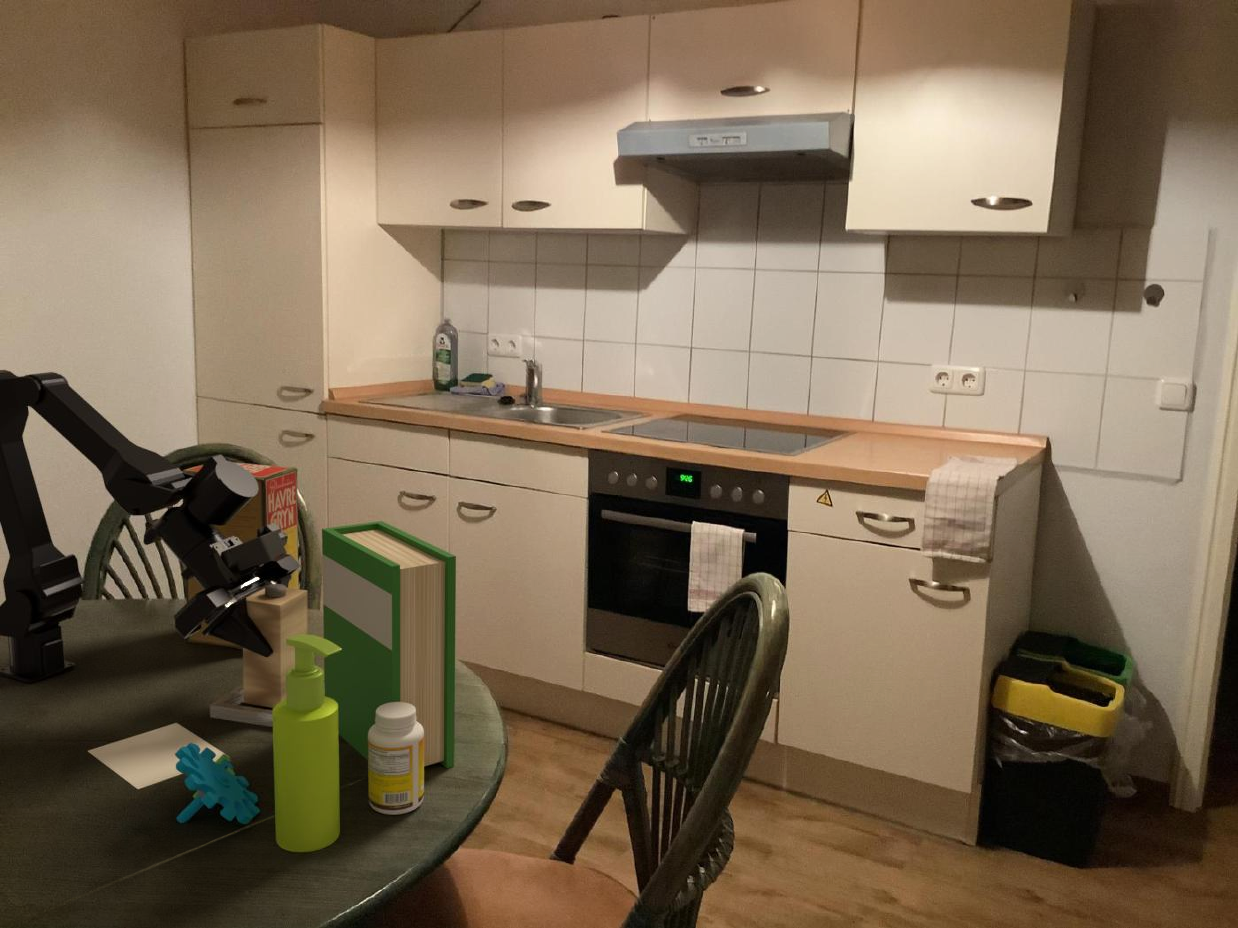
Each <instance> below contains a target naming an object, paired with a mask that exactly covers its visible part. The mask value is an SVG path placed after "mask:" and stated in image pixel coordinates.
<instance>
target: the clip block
mask: <svg viewBox="0 0 1238 928" xmlns="http://www.w3.org/2000/svg"><path fill="white" fill-rule="evenodd" d="M246 602H247V613H248V615H249V617H250V618H251V620H252V621H253V622H254V624H255V625H256V626H257V628H258V629H259V630H260V632H261V633H262V634H263V636H264V637H265V639H266V640H267V641H268V643H269V645H270V646H271V648H272V650H273V653H272V654H271V655H270V656H269V657H264V656H262V655H259V654H257V653H255V652H252V651H250V650H248V649H245V648H243V649H242V669H243V670H242V671H243V672H242V675H243V676H242V680H243V681H242V682H243V683H242V684H243V699H244V701H243V703H245V704H250V705H256V706H261V707H267V708H271V709H273V708H274V707H275V706H276V705H277V704H278V703H280V702H281V701H283V700H286V673H287V671H288V670H290V669H292V668H293V667H295V647H294V646H289V645H286V639H287V638H290V637H293V636H296V635H299V634H301V633H303V634H308V590H306V589H300V588H299V589H293V588H286V586H285V585H282V584H271V585H267V586H266V587H265V589H263V590H261V591H259V592H257V593H255V594H253V595H251V596H249V597H247V598H246Z"/></svg>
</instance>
